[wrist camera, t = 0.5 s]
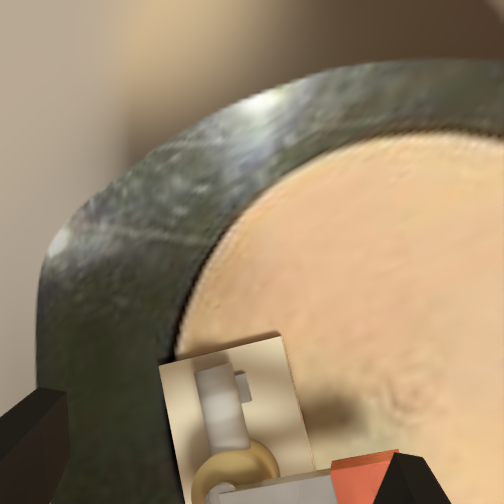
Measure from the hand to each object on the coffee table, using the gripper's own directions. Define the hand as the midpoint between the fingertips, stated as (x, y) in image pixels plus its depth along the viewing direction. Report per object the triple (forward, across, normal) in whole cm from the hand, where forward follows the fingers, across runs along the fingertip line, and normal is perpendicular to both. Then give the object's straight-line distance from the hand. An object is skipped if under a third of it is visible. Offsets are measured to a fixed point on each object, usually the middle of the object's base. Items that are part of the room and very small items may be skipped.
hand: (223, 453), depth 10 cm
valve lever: (+12, -5, +16) cm, 20 cm away
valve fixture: (+16, -2, +21) cm, 26 cm away
